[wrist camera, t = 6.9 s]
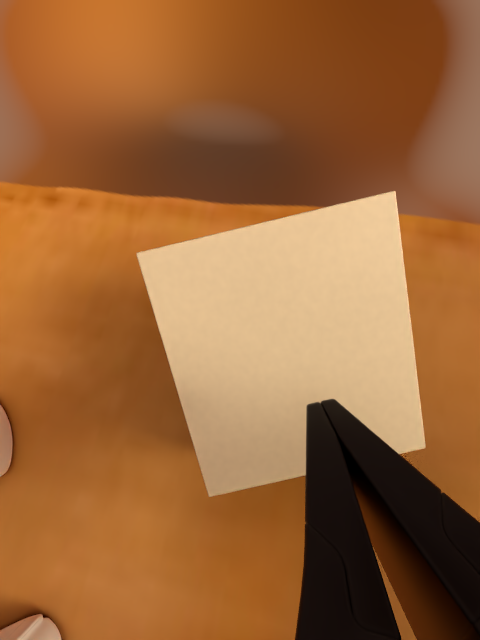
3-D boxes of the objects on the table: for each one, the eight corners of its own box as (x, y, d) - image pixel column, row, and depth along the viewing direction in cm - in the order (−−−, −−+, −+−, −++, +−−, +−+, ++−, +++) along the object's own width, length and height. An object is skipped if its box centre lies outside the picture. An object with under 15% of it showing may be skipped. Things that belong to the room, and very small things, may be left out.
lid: (140, 253, 12) (135, 252, 12) (386, 193, 12) (396, 190, 11) (209, 486, 15) (208, 497, 14) (417, 439, 14) (426, 448, 14)
